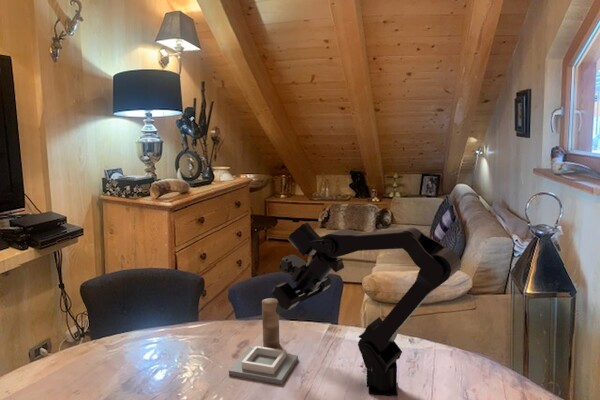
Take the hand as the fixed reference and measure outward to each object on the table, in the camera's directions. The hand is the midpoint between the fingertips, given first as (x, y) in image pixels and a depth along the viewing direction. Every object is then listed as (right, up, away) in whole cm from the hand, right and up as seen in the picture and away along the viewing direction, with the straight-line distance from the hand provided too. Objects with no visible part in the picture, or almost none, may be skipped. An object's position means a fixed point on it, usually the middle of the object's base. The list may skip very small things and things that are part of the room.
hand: (288, 306), depth 120 cm
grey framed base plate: (-6, -14, -5) cm, 16 cm away
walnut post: (-5, -12, +6) cm, 15 cm away
